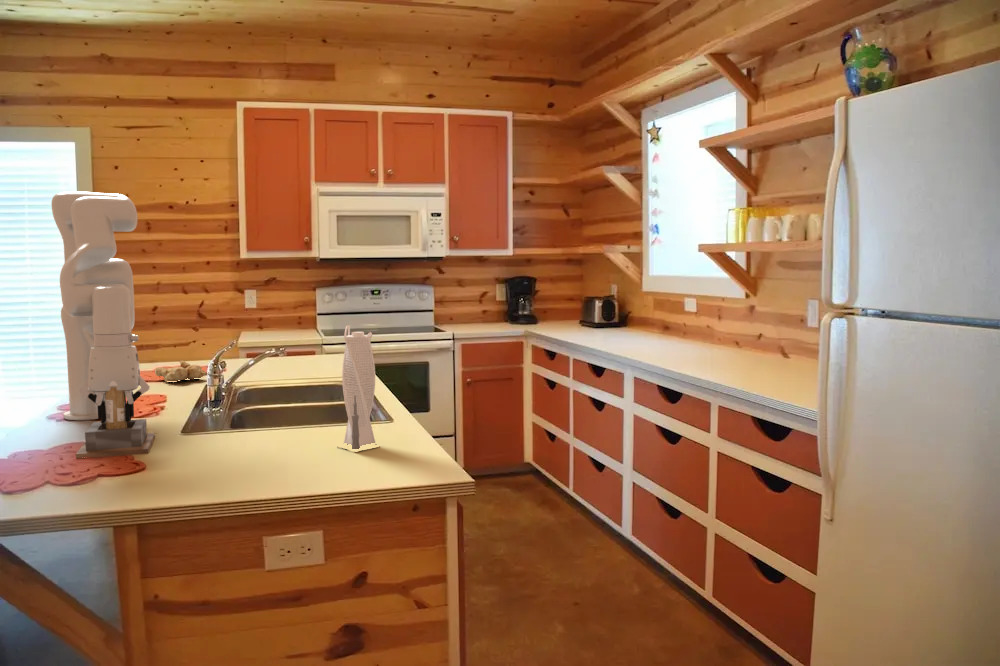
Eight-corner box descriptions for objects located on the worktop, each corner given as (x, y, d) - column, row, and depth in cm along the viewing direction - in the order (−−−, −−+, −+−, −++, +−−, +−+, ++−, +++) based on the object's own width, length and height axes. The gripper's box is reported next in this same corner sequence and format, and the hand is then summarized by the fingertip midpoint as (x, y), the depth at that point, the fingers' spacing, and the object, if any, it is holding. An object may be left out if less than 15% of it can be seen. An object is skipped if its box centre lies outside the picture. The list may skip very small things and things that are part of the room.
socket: (89, 443, 175) (88, 420, 174) (155, 438, 180) (154, 416, 179) (76, 460, 160) (74, 435, 159) (147, 455, 165) (146, 431, 164)
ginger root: (212, 378, 257) (205, 356, 256) (164, 393, 250) (157, 370, 248) (205, 374, 271) (198, 353, 269) (159, 388, 263) (152, 366, 262)
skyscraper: (333, 446, 172) (331, 325, 169) (361, 440, 178) (360, 323, 175) (355, 453, 166) (353, 327, 163) (384, 446, 172) (382, 325, 169)
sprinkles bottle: (129, 435, 169) (127, 376, 168) (106, 438, 166) (104, 378, 165) (126, 431, 173) (124, 374, 171) (104, 433, 170) (101, 375, 169)
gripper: (155, 338, 174) (158, 415, 176) (73, 340, 168) (77, 420, 170) (152, 341, 167) (155, 422, 169) (66, 344, 161) (70, 427, 163)
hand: (116, 420), depth 169 cm, fingers closed on sprinkles bottle, 4 cm apart
